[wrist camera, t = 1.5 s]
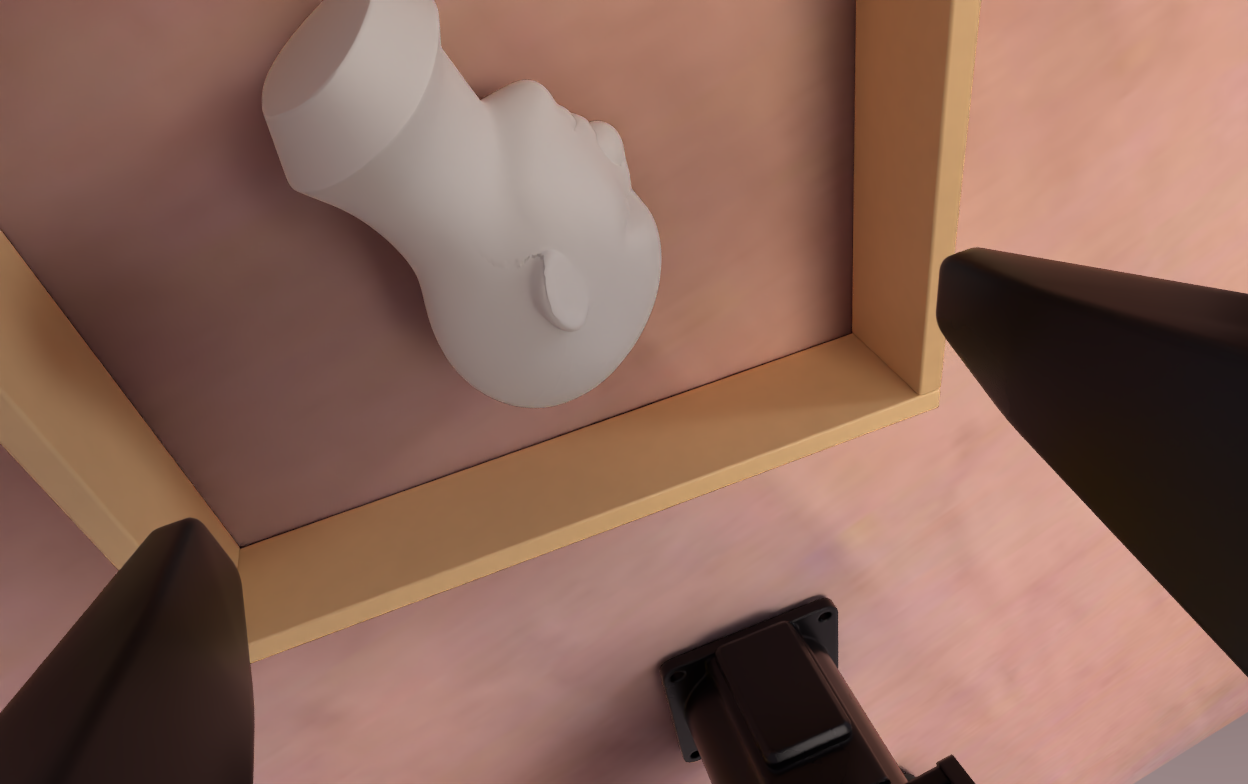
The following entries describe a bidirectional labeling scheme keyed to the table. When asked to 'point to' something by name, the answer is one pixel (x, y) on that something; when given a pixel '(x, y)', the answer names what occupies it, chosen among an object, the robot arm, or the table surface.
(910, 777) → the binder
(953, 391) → the table surface
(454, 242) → the pale two-lobed sculpture
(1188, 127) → the table surface
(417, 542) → the wooden frame
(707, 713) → the robot arm
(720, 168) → the table surface
